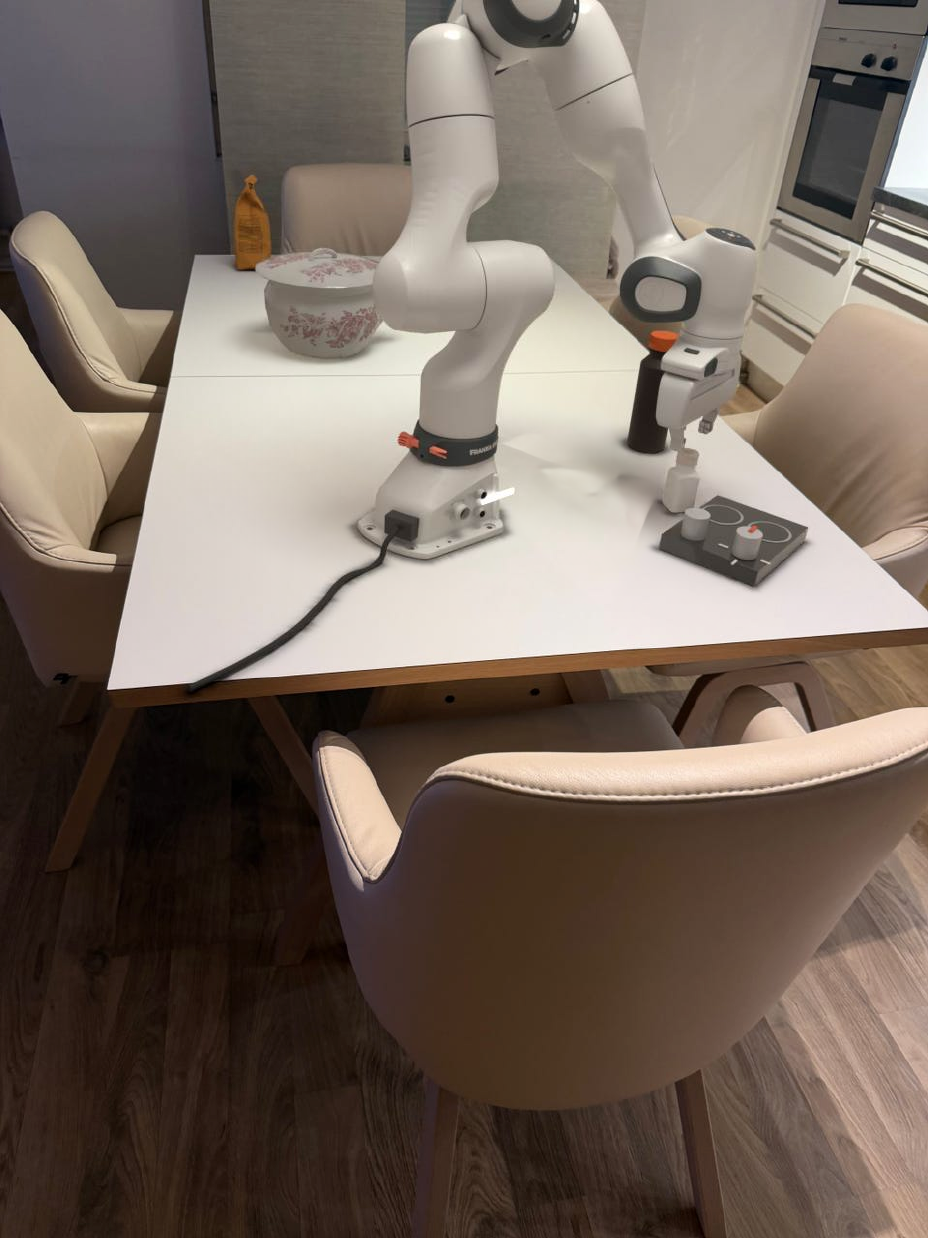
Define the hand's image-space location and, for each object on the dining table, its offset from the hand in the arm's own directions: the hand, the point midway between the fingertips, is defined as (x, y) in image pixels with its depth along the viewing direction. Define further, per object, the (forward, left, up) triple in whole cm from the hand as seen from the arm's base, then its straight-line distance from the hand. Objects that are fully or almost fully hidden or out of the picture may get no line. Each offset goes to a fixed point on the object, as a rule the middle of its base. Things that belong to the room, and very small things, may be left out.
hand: (691, 440), depth 145 cm
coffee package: (+45, +153, -11) cm, 159 cm away
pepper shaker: (0, 0, -11) cm, 11 cm away
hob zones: (-5, -12, -9) cm, 16 cm away
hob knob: (-11, -16, -9) cm, 21 cm away
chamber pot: (+12, +91, -11) cm, 92 cm away
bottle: (+18, +16, -11) cm, 26 cm away
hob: (-5, -12, -11) cm, 17 cm away
